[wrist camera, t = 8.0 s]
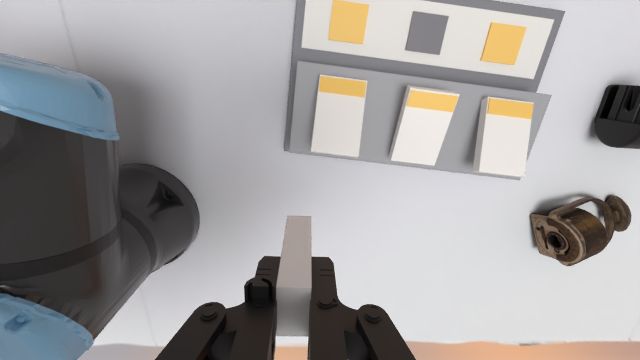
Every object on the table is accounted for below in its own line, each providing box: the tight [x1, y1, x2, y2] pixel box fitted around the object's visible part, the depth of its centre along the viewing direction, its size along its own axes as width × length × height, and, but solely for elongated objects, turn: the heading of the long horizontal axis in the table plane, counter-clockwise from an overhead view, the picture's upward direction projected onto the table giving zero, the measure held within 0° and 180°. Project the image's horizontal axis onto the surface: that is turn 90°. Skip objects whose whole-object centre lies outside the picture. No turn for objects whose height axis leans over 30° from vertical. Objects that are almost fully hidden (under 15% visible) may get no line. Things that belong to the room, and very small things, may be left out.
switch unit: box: [284, 0, 565, 180], centre depth 34 cm, size 30×20×5 cm, turn 83°
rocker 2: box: [473, 97, 534, 177], centre depth 32 cm, size 5×8×1 cm, turn 173°
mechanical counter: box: [531, 196, 631, 266], centre depth 40 cm, size 7×13×10 cm
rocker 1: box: [311, 75, 367, 158], centre depth 31 cm, size 5×8×1 cm, turn 173°
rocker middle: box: [389, 85, 460, 166], centre depth 32 cm, size 5×8×1 cm, turn 173°
